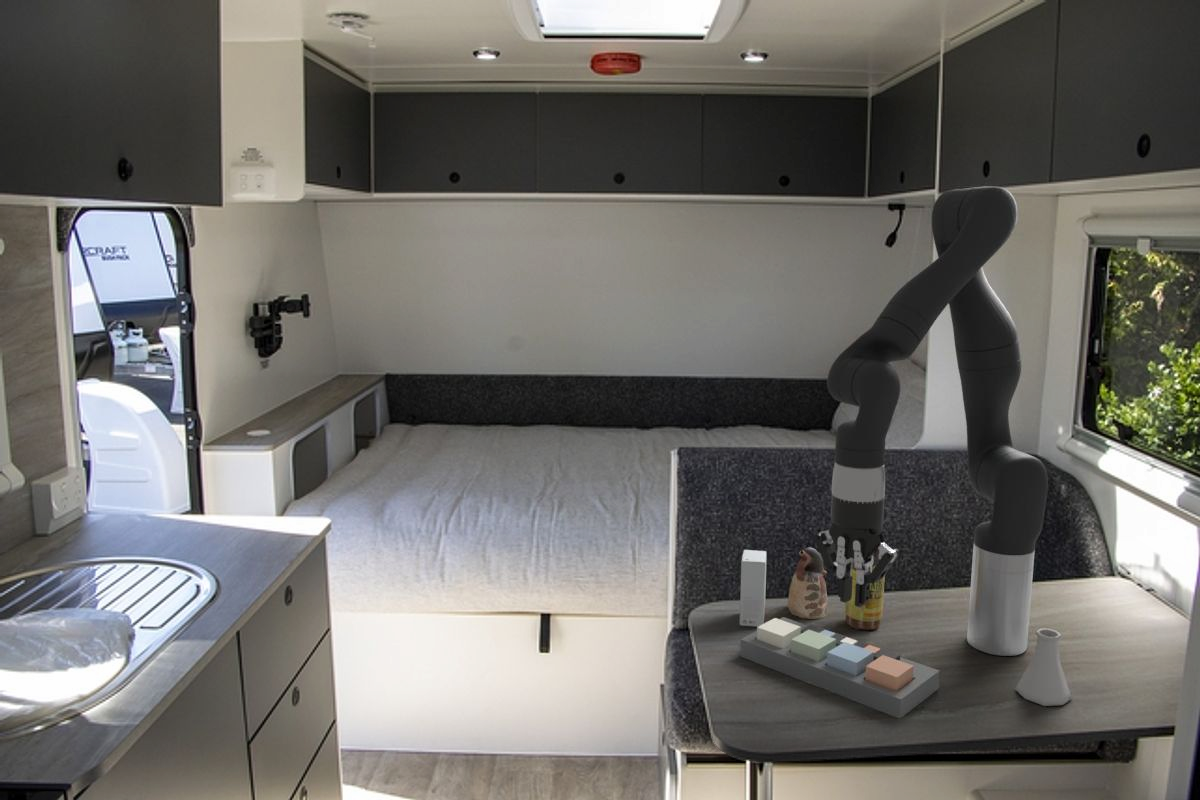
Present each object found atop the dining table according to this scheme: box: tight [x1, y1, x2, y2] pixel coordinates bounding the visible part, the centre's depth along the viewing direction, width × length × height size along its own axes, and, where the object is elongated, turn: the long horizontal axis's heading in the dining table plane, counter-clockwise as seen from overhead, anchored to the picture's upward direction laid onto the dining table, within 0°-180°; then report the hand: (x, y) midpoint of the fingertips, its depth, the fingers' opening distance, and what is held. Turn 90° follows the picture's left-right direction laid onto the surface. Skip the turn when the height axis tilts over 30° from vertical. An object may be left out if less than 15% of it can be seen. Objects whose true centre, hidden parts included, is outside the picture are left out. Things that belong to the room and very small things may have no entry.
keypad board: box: [739, 616, 941, 720], centre depth 150 cm, size 12×28×4 cm, turn 45°
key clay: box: [865, 655, 914, 692], centre depth 142 cm, size 5×5×2 cm
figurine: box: [787, 546, 829, 620], centre depth 172 cm, size 7×7×12 cm
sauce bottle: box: [844, 549, 886, 631], centre depth 166 cm, size 6×6×20 cm
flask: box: [1014, 627, 1072, 707], centre depth 142 cm, size 7×7×10 cm
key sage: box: [791, 630, 836, 662], centre depth 151 cm, size 5×5×2 cm
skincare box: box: [739, 549, 767, 628], centre depth 169 cm, size 6×4×12 cm
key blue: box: [827, 642, 874, 676], centre depth 147 cm, size 5×5×2 cm
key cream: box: [756, 617, 801, 649], centre depth 155 cm, size 5×5×2 cm
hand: (852, 602), depth 145 cm, fingers closed
